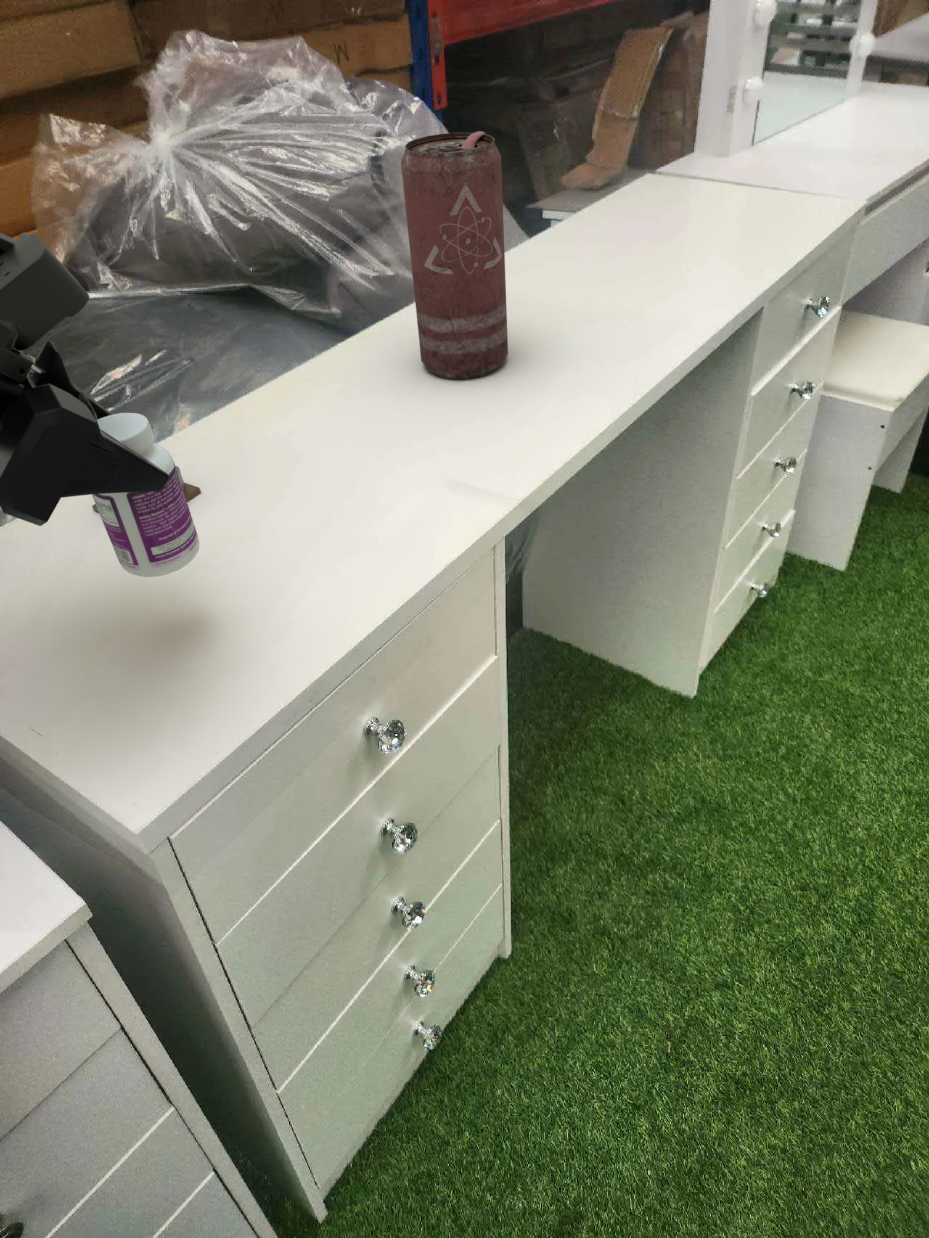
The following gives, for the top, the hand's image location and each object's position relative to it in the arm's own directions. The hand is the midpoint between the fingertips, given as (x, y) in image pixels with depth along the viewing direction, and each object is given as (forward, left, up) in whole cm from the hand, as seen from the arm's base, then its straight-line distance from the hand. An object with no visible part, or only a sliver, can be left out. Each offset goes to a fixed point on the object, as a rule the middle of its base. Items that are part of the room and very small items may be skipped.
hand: (153, 464), depth 55 cm
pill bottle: (-1, 0, -7) cm, 7 cm away
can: (+31, +34, -13) cm, 48 cm away
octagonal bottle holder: (-3, +19, -13) cm, 23 cm away
